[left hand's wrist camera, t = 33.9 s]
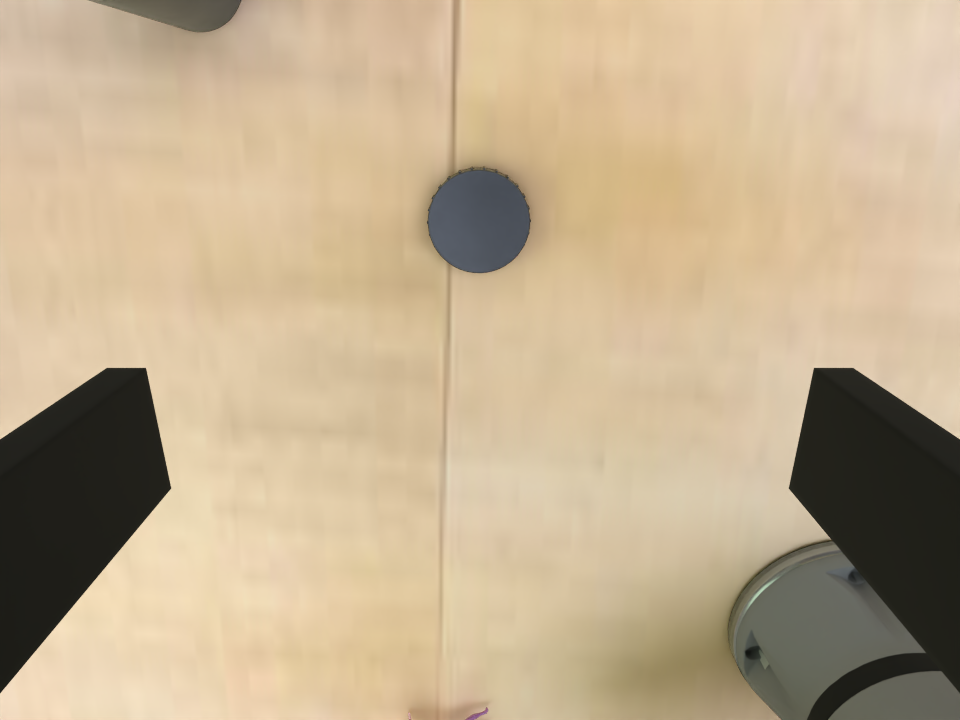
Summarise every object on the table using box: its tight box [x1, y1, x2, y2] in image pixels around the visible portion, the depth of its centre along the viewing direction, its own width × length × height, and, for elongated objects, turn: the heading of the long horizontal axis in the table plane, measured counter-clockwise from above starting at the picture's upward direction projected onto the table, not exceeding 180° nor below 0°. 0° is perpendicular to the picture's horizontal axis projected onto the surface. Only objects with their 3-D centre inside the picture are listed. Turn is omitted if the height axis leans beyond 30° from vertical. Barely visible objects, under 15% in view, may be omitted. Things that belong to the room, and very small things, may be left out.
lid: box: [427, 166, 531, 273], centre depth 36 cm, size 6×6×2 cm
